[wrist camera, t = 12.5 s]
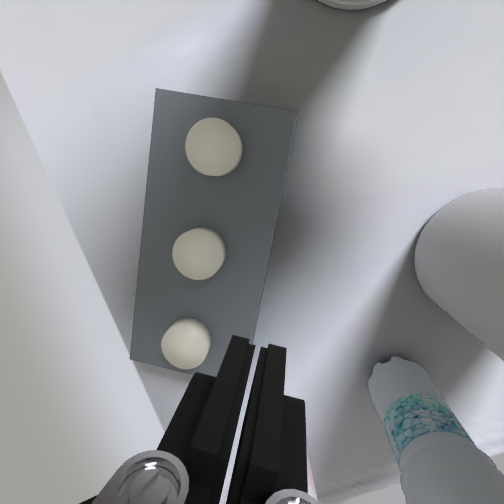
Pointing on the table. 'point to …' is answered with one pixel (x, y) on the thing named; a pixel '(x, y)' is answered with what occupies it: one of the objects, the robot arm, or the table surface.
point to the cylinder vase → (467, 264)
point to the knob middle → (199, 253)
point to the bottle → (430, 440)
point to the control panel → (208, 224)
